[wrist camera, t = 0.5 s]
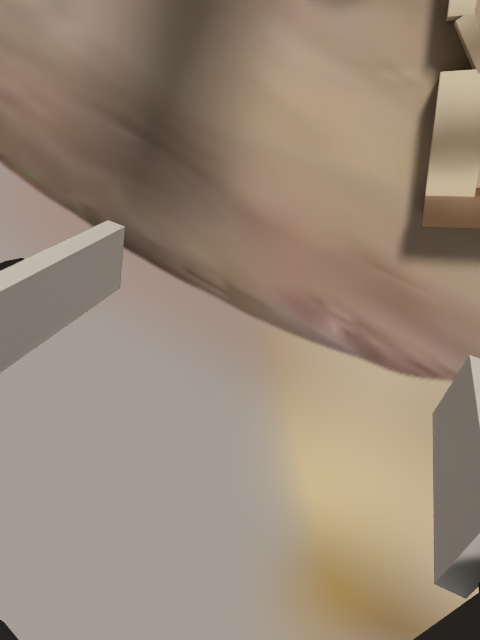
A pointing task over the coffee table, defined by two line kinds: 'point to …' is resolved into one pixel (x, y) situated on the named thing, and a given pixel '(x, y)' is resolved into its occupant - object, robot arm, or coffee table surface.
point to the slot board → (456, 134)
